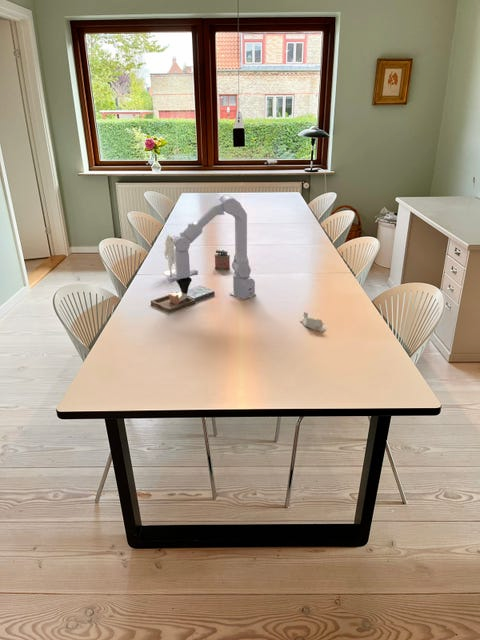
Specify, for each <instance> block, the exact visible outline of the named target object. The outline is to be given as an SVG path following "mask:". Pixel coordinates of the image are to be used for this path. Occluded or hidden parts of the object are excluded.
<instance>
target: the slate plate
mask: <svg viewBox="0 0 480 640" xmlns="http://www.w3.org/2000/svg"><path fill="white" fill-rule="evenodd" d="M215 295H216V293H215V290H213V289H210V288H207V287H205V286H202V285H198V286H195V287H191V288H188V292H187V294H186V296H187V297H190V298H192V299H194V300H196V303H197V302H200V301H202V300H206V299H209V298H211V297H213V296H215Z"/></svg>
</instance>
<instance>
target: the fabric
mask: <svg viewBox="0 0 480 640" xmlns="http://www.w3.org/2000/svg"><path fill="white" fill-rule="evenodd" d="M299 323H301V324H303V326H304V327H306V328H309V329H311V330H314V331H315V330H316V331H320V333H322V332H324V331H326V330H328V327H325V326H323V325H324V324H325V323H324V322H323V321H322V319H319V318H317V319H315V318H313V317H309V314H308V312H305V311H304V312H303V318H302V319H301V320H299Z"/></svg>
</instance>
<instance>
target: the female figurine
mask: <svg viewBox="0 0 480 640" xmlns="http://www.w3.org/2000/svg"><path fill="white" fill-rule="evenodd" d="M175 237H176V235H173V236H172V235H171V234H168V235H167V236H166V240H165V242H164V245H165V250H164V249H162V250H163V251H162V252H163V254H164V257H165V259H166V261H167V262H168V270H166V271H164V273H163V274H164V275H165V276H168V277H171V276H173V275H175V274H176V258H175V253H176V252H175V245H174V243H173V242H174V239H175ZM173 265H174V269H172V268H173Z"/></svg>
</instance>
